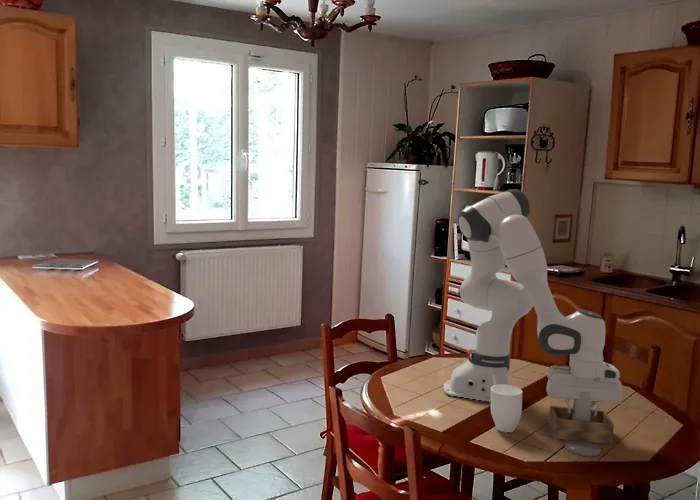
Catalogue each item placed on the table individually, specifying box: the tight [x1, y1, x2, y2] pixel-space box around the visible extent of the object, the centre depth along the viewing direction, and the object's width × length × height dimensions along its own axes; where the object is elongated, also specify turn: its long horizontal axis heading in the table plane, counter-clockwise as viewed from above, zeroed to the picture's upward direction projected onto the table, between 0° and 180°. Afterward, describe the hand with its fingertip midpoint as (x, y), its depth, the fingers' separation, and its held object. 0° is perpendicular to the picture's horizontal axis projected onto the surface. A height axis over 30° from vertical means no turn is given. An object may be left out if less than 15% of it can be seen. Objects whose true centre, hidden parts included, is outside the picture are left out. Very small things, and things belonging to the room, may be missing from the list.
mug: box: [490, 384, 523, 433], centre depth 182 cm, size 12×9×12 cm
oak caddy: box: [548, 405, 615, 445], centre depth 180 cm, size 16×11×6 cm
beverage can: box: [572, 392, 593, 422], centre depth 180 cm, size 5×5×12 cm
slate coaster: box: [564, 440, 602, 458], centre depth 170 cm, size 9×9×1 cm
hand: (581, 413), depth 180 cm, fingers closed on beverage can, 5 cm apart
